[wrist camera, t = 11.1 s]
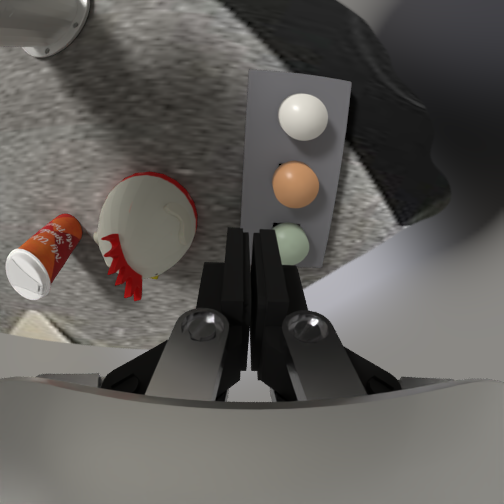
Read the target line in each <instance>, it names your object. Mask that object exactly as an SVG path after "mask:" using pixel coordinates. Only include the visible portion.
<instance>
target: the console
mask: <svg viewBox="0 0 504 504" xmlns="http://www.w3.org/2000/svg"><path fill="white" fill-rule="evenodd" d="M351 83H352V82H349V81H344V80H338V79H333V78H327V77H320V76H314V75H306V74H298V73H290V72H280V71H268V70H253V69H249V75H248V91H247V108H246V125H245V143H244V162H243V181H242V201H241V222H240V228H243V232H249V248H250V266H251V260H252V245H253V233H259V229H273V223H294V224H297V225H299V226H300V227H301V228H302V229H303V230H304V232H305V234H306V236H307V239H308V242H309V252H308V254H307V256H306V257H305V258H304V259H303V260H302V261H301V262H299V263H298V264H295V265H296V266H297V267H313V268H322V265H323V260H324V255H325V251H326V246H327V241H328V236H329V231H330V226H331V220H332V215H333V210H334V204H335V198H336V193H337V187H338V181H339V175H340V168H341V162H342V155H343V148H344V141H345V134H346V127H347V119H348V110H349V102H350V92H351ZM299 93H301V94H309V95H312V96H314V97H316V98H318V99H319V100H320V101H321V102H322V103H323V104H324V106H325V107H326V110H327V113H328V122H327V126H326V128H325V130H324V131H323V132H322V134H321V135H319V136H318V137H316V138H314V139H312V140H307V141H301V140H297V139H294V138H292V137H290V136H289V135H288V134H287V133H286V132H285V131H284V130H283V129H282V127H281V126H280V124H279V121H278V109H279V107H280V105H281V103H282V102H283V100H284V98H287V97H289V96H291V95H293V94H299ZM288 161H300V162H303V163H305V164H307V165H308V166H309V167H310V168H311V169H312V170H313V172H314V173H315V174H316V176H317V178H318V181H319V191H318V194H317V196H316V198H315V199H314V200H313V201H312V202H311V203H310V204H308V205H307V206H305V207H302V208H289V207H286V206H284V205H283V204H281V203H280V202H279V201H278V199H277V198H276V196H275V193H274V190H273V186H272V178H273V175H274V172H275V171H276V169H277V168H278V167H279V163H286V162H288Z"/></svg>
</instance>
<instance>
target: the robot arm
mask: <svg viewBox="0 0 504 504" xmlns="http://www.w3.org/2000/svg"><path fill="white" fill-rule="evenodd" d="M89 9H90V0H0V47H22V48H23V49H24V51H25V52H26V53H27V54H29V55H31V56H33V57H49V56H52V55H54V54H57V53H59V52H60V51H62V50H63V49H65V48H66V47H67V46H68V45H69V44H70V43H71V42H72V41H73V40H74V39H75V38H76V37H77V35H78V34H79V32H80V31H81V29H82V28H83V26H84V24H85V22H86V19H87V16H88V14H89ZM249 329H250V346H251V370H252V371H257V374H258V380H261V381H262V382H264V383H265V384H266V385H268V386H269V387H270V395H271V399H272V402H227V399H228V394H229V388H230V387H231V386H233V385H234V384H235V383H237V382H238V381H239V380H240V371H246V367H247V354H248V342H249ZM0 504H504V382H502V381H498V380H492V379H464V380H452V379H436V378H415V377H401V378H400V380H397V379H396V378H395V377H394V376H393V375H391V374H390V373H388V372H387V371H385V370H383V369H381V368H380V367H378V366H376V365H374V364H373V363H371V362H369V361H368V360H366V359H364V358H362V357H360V356H359V355H357V354H355V353H354V352H352V351H350V350H349V349H347V348H345V347H344V346H343V345H342V343H341V341H340V339H339V337H338V335H337V333H336V331H335V329H334V327H333V325H332V324H331V322H330V321H329V320H328V319H327V318H326V317H324V316H323V315H321V314H319V313H317V312H312V311H308V308H307V304H306V300H305V296H304V292H303V288H302V285H301V281H300V277H299V273H298V269H297V266H296V265H282V262H281V257H280V252H279V247H278V242H277V237H276V232H275V230H273V229H259V233H253V245H252V260H251V274H250V248H249V232H243V228H228V232H227V243H226V254H225V263H214V262H205V263H204V267H203V273H202V278H201V283H200V289H199V294H198V300H197V306H196V309H192V310H189V311H187V312H185V313H184V314H182V315H181V316H180V317H179V318H178V320H177V321H176V323H175V325H174V328H173V330H172V332H171V335H170V337H169V339H168V340H166V341H165V342H163V343H161V344H159V345H158V346H156V347H154V348H152V349H151V350H149V351H147V352H145V353H144V354H142V355H140V356H138V357H136V358H135V359H133V360H131V361H129V362H127V363H126V364H124V365H122V366H120V367H118V368H117V369H115V370H113V371H112V372H110V373H109V374H108V375H107V376H106V377H100V375H99V373H92V374H41V375H38V376H36V377H10V378H2V379H0Z"/></svg>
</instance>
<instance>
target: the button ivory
mask: <svg viewBox="0 0 504 504" xmlns="http://www.w3.org/2000/svg"><path fill="white" fill-rule="evenodd" d="M278 121H279V124H280V126H281V127H282V129H283V130H284V131H285V132H286V133H287V134H288V135H289V136H290V137H292V138H294V139H297V140H301V141H307V140H312V139H314V138H316V137H318V136H319V135H321V134H322V132H323V131H324V130H325V128H326V126H327V122H328V113H327V110H326V107H325V106H324V104H323V103H322V102H321V101H320V100H319V99H318V98H316V97H314V96H312V95H309V94H301V93H299V94H293V95H291V96H289V97H287V98H286V99H285V100H283V102H282V103H281V105H280V107H279V109H278Z"/></svg>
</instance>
